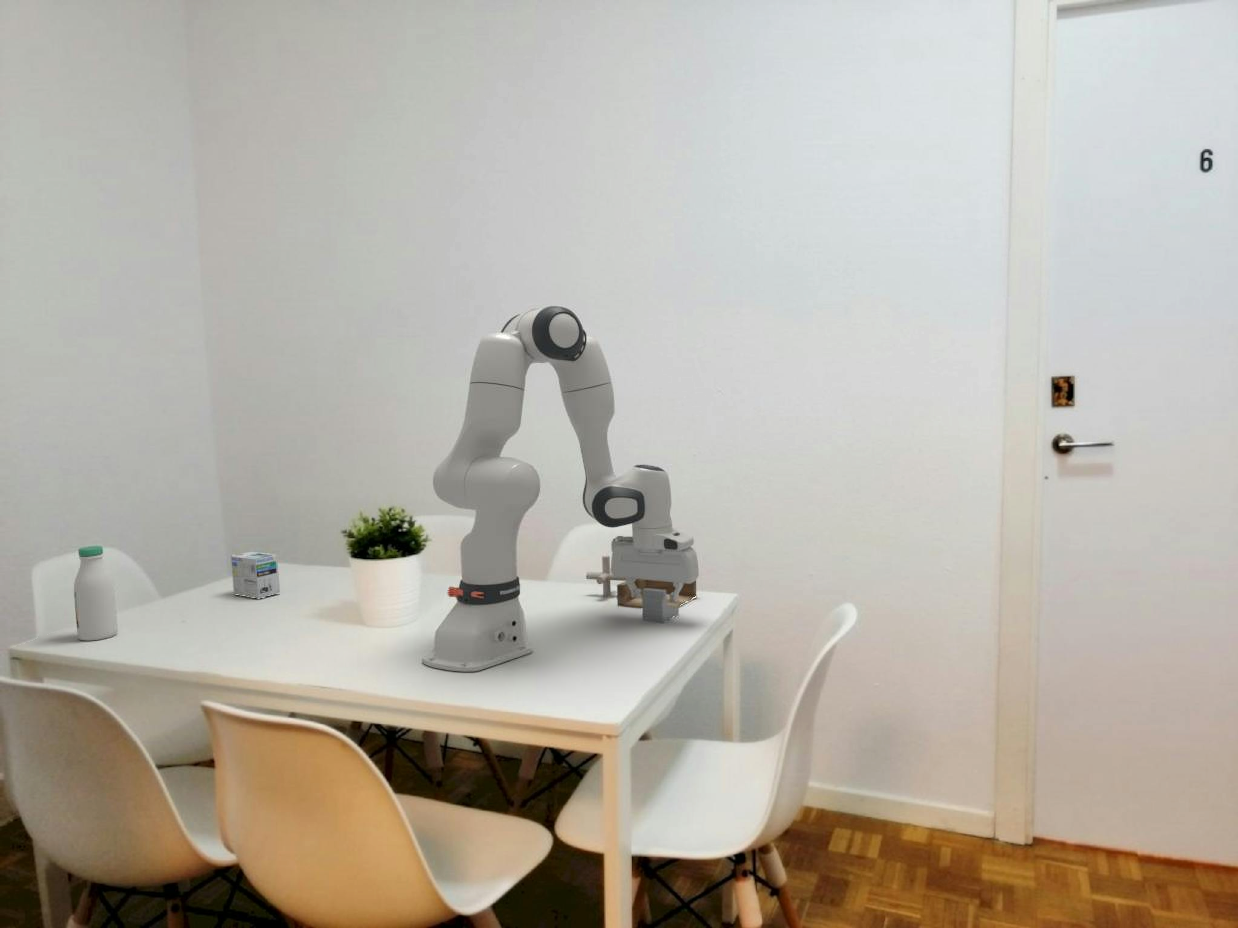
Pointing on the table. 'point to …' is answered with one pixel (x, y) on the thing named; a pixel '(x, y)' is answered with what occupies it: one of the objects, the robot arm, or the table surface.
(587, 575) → the pipe connector
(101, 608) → the milk bottle
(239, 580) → the light bulb box
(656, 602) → the bracket
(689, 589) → the wooden corner tray
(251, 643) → the table surface
